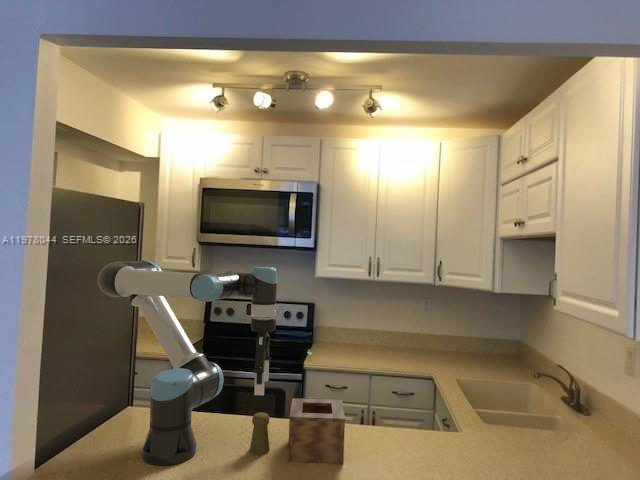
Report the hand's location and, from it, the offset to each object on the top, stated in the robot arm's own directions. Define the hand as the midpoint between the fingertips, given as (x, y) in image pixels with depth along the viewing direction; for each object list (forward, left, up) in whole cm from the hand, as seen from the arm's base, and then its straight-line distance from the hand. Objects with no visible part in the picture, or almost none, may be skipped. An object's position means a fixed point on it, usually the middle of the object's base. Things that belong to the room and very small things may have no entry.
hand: (261, 387), depth 138 cm
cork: (0, 0, -19) cm, 19 cm away
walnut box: (+17, +1, -19) cm, 25 cm away
